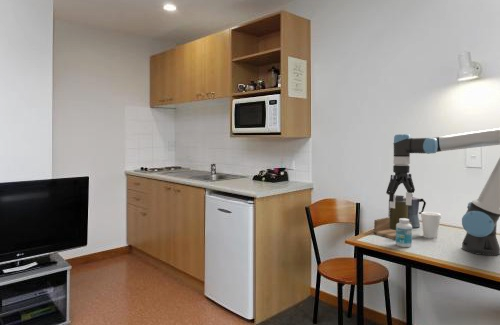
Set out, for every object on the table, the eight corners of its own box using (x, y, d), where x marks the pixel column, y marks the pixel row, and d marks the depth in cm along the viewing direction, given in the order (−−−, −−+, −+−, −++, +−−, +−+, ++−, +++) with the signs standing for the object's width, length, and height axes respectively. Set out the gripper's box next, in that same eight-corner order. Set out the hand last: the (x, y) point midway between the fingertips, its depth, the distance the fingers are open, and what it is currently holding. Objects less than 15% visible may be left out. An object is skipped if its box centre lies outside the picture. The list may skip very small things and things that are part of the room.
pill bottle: (392, 244, 173) (392, 218, 172) (403, 242, 175) (404, 216, 174) (403, 248, 166) (404, 221, 165) (415, 246, 168) (415, 220, 167)
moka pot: (404, 223, 217) (404, 192, 216) (429, 227, 205) (430, 195, 204) (396, 225, 211) (397, 193, 210) (422, 230, 199) (423, 196, 198)
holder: (412, 237, 185) (413, 222, 184) (399, 240, 178) (400, 225, 178) (385, 230, 199) (386, 217, 198) (372, 233, 192) (373, 219, 192)
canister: (404, 226, 208) (405, 194, 206) (410, 231, 197) (411, 197, 196) (386, 226, 209) (386, 194, 208) (391, 230, 198) (392, 197, 197)
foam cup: (426, 239, 181) (426, 215, 180) (417, 234, 190) (418, 211, 190) (443, 239, 181) (444, 215, 180) (434, 234, 190) (434, 211, 190)
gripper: (409, 163, 181) (408, 202, 182) (379, 165, 168) (378, 207, 169) (422, 164, 174) (421, 205, 175) (392, 166, 161) (391, 210, 162)
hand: (400, 206), depth 172 cm, fingers open, 13 cm apart
